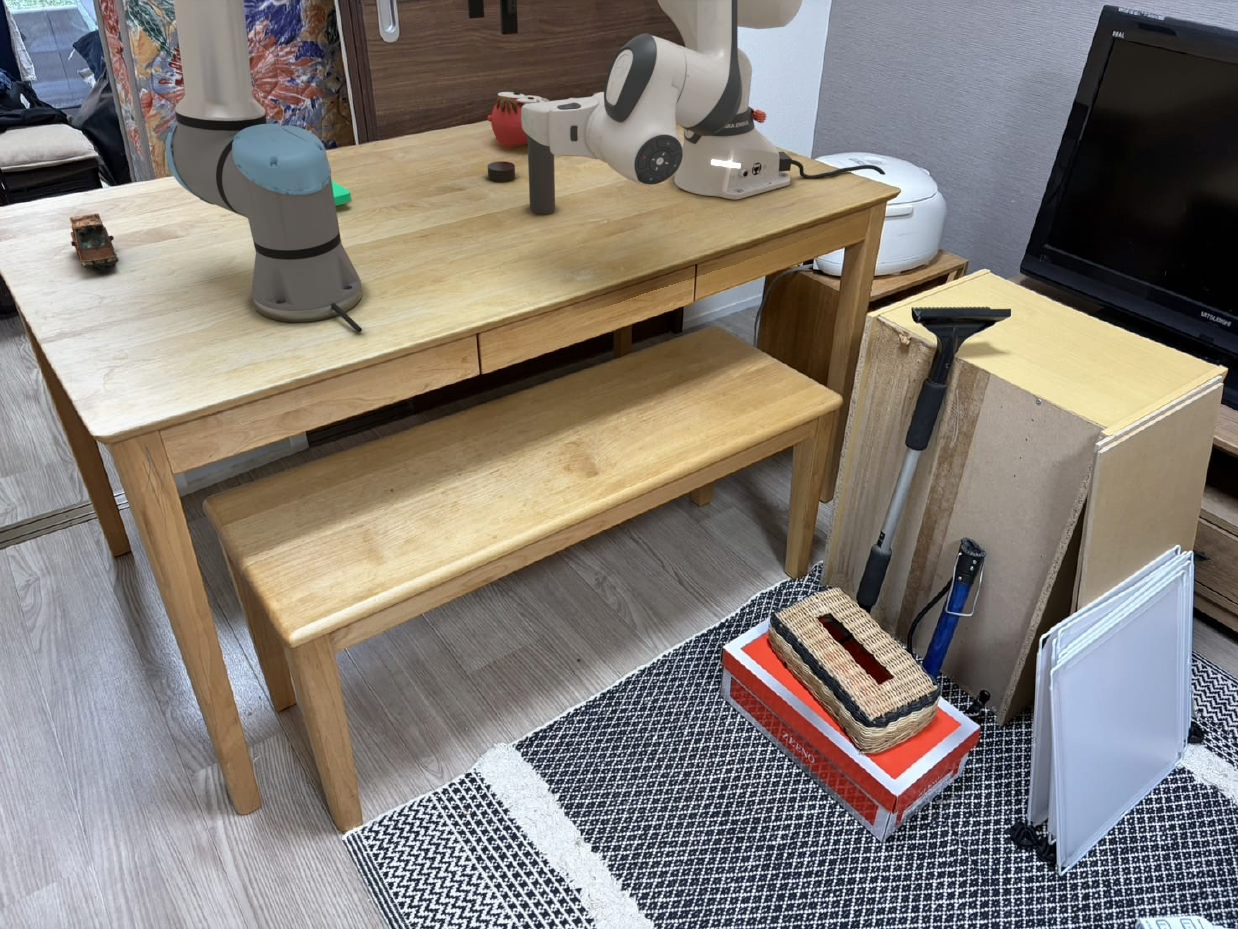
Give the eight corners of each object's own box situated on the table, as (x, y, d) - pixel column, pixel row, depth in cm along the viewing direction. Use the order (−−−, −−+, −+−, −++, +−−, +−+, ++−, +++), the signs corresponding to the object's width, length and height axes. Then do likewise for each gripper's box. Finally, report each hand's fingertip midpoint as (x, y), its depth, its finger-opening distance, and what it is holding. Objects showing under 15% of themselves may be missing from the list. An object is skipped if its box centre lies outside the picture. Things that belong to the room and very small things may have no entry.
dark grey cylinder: (526, 206, 165) (523, 111, 155) (550, 203, 166) (548, 109, 157) (534, 215, 162) (531, 119, 152) (558, 212, 163) (557, 117, 153)
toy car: (109, 242, 148) (95, 200, 144) (132, 268, 141) (118, 225, 137) (66, 252, 145) (51, 209, 141) (87, 279, 138) (72, 235, 133)
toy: (638, 98, 193) (509, 99, 178) (634, 148, 198) (509, 154, 183) (593, 85, 207) (469, 85, 192) (590, 133, 211) (469, 136, 196)
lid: (482, 176, 177) (482, 164, 175) (505, 170, 179) (504, 159, 178) (497, 184, 174) (497, 172, 172) (520, 178, 176) (520, 166, 175)
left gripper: (433, -126, 154) (444, 13, 167) (496, -111, 137) (504, 42, 150) (474, -127, 158) (482, 9, 170) (541, -112, 141) (545, 38, 153)
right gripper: (672, 96, 134) (630, 73, 144) (542, 111, 127) (506, 85, 137) (670, 140, 138) (628, 114, 148) (543, 157, 131) (508, 128, 141)
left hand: (492, 25), depth 160 cm, fingers open, 13 cm apart
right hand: (569, 100), depth 142 cm, fingers open, 8 cm apart
